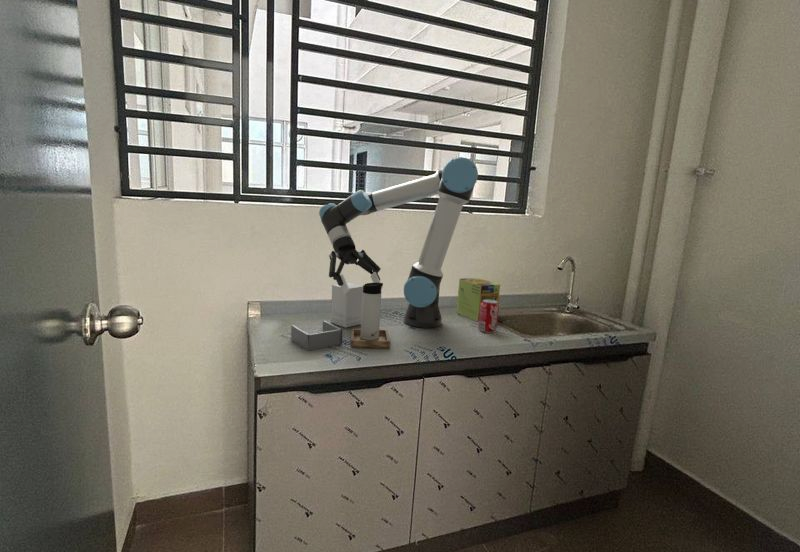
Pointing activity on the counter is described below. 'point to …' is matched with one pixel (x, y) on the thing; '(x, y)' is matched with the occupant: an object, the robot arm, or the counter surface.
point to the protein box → (475, 296)
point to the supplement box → (346, 305)
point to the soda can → (488, 315)
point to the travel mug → (371, 311)
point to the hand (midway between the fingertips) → (364, 291)
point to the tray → (381, 343)
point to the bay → (317, 337)
